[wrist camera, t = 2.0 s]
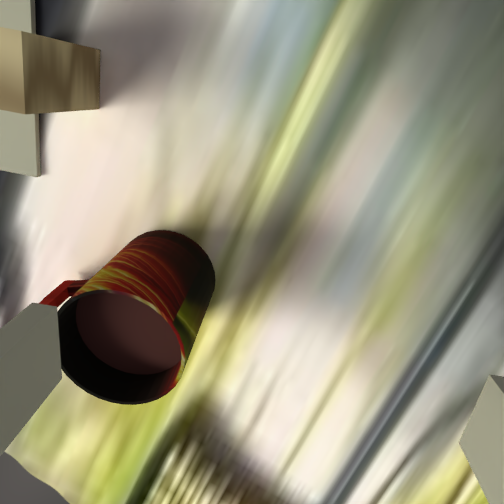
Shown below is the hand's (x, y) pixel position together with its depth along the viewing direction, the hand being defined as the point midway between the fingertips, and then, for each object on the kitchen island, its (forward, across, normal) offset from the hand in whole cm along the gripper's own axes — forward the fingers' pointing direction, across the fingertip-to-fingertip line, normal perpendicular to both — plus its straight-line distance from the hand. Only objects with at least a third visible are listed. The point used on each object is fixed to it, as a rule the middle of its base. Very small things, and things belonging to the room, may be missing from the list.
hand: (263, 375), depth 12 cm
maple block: (+24, -18, +7) cm, 31 cm away
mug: (+24, -11, -11) cm, 29 cm away
